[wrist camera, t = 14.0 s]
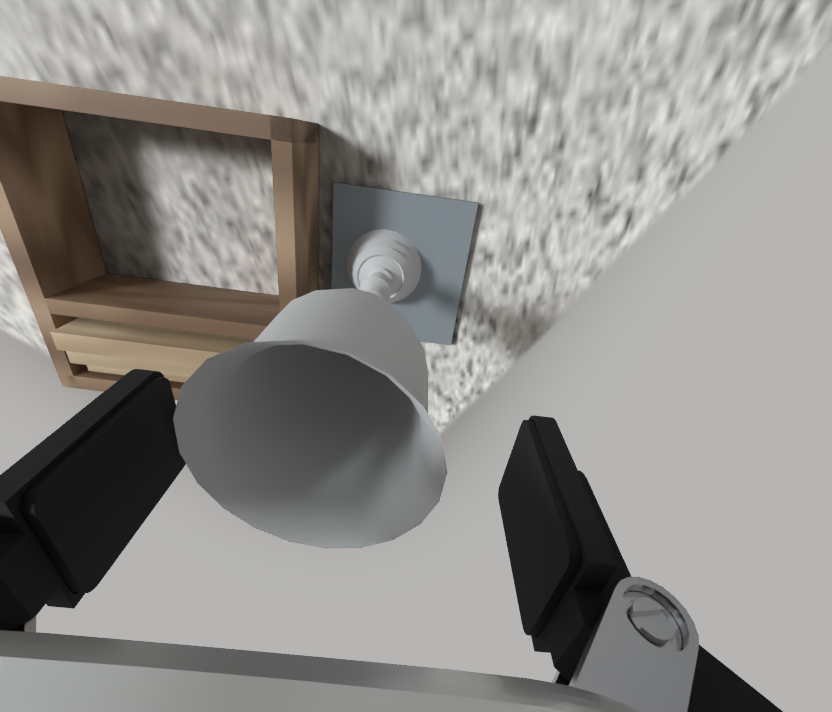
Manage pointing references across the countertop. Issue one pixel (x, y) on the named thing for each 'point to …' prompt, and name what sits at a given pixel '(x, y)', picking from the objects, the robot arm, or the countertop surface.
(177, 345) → the offcut stack
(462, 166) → the countertop surface
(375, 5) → the countertop surface
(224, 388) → the chalice
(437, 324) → the mat
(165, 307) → the frame
